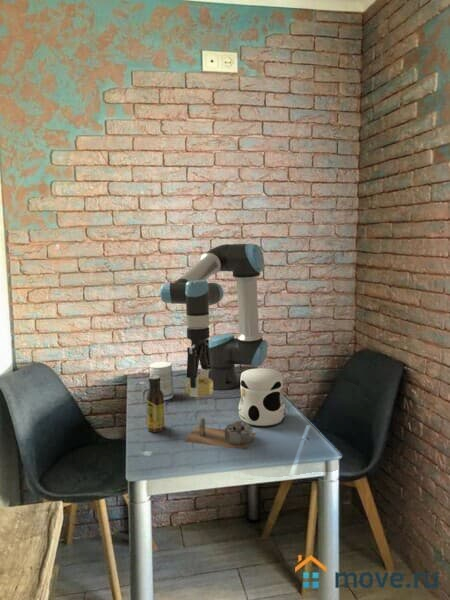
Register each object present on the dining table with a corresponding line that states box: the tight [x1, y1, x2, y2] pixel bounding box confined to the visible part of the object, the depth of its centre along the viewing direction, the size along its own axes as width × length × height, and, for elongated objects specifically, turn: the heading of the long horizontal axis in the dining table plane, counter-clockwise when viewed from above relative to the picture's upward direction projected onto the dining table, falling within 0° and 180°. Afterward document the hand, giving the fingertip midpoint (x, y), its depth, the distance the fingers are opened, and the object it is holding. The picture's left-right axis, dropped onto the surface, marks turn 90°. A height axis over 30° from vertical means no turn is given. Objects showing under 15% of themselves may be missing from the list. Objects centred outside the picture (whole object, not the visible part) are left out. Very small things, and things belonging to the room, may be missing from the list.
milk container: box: [238, 367, 286, 428], centre depth 168 cm, size 17×17×18 cm
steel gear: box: [224, 422, 254, 446], centre depth 152 cm, size 9×9×4 cm
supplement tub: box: [149, 361, 174, 401], centre depth 195 cm, size 10×10×15 cm
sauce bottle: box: [145, 375, 166, 433], centre depth 163 cm, size 6×6×20 cm
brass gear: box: [185, 376, 214, 398], centre depth 155 cm, size 9×9×4 cm
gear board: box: [183, 416, 257, 450], centre depth 154 cm, size 12×22×7 cm, turn 72°
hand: (199, 391), depth 155 cm, fingers closed on brass gear, 9 cm apart
